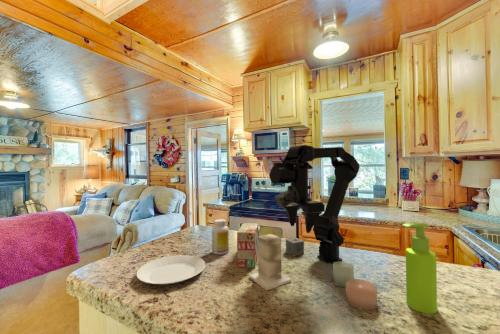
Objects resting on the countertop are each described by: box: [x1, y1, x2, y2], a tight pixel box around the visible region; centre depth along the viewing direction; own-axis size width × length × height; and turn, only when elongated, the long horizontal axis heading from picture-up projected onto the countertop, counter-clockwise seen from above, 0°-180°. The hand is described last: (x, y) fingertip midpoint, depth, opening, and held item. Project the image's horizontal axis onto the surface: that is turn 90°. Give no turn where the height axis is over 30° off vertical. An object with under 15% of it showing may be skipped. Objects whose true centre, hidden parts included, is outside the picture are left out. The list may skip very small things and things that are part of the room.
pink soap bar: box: [345, 278, 378, 311], centre depth 57 cm, size 7×7×4 cm
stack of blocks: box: [236, 222, 262, 269], centre depth 88 cm, size 21×6×12 cm, turn 172°
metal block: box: [257, 233, 282, 282], centre depth 69 cm, size 5×5×12 cm
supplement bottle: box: [211, 218, 230, 256], centre depth 92 cm, size 7×7×13 cm
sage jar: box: [332, 261, 355, 288], centre depth 67 cm, size 6×6×5 cm
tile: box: [248, 271, 292, 291], centre depth 69 cm, size 9×9×1 cm
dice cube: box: [285, 237, 305, 257], centre depth 90 cm, size 5×5×5 cm
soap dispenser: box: [401, 221, 438, 315], centre depth 55 cm, size 6×7×20 cm
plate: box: [136, 254, 206, 286], centre depth 74 cm, size 21×21×2 cm
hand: (299, 229), depth 77 cm, fingers open, 9 cm apart
